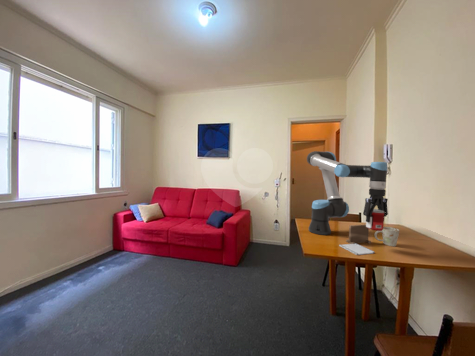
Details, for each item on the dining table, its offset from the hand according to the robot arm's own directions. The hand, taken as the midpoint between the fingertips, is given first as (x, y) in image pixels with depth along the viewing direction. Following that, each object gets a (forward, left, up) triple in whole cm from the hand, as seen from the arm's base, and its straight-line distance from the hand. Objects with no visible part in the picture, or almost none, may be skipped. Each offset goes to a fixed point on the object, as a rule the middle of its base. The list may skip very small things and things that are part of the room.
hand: (374, 227), depth 105 cm
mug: (-4, +14, -13) cm, 19 cm away
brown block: (-9, -1, -13) cm, 16 cm away
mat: (-1, -12, -13) cm, 17 cm away
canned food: (0, 0, -1) cm, 1 cm away
